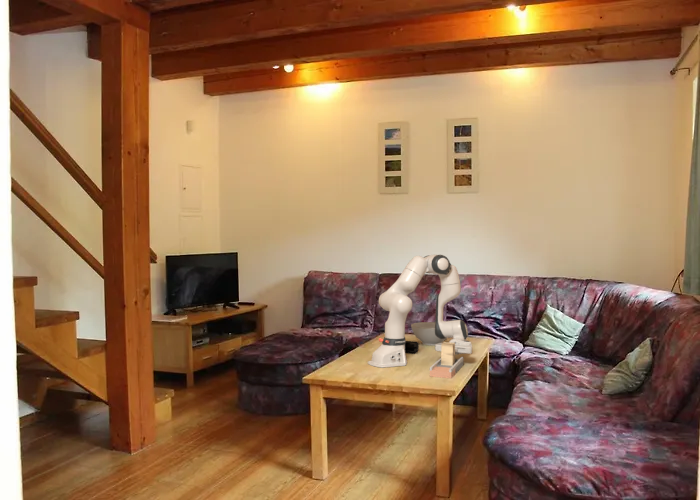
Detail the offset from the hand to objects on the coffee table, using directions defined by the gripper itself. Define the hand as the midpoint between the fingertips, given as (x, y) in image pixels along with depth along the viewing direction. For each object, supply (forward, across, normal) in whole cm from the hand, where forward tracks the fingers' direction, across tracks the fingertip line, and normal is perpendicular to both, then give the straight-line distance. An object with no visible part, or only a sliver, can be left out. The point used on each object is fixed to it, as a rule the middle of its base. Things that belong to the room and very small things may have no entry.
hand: (451, 350), depth 327 cm
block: (+7, 0, +6) cm, 9 cm away
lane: (+9, 0, +9) cm, 13 cm away
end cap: (-29, -32, +9) cm, 44 cm away
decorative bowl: (-62, -25, +9) cm, 67 cm away
